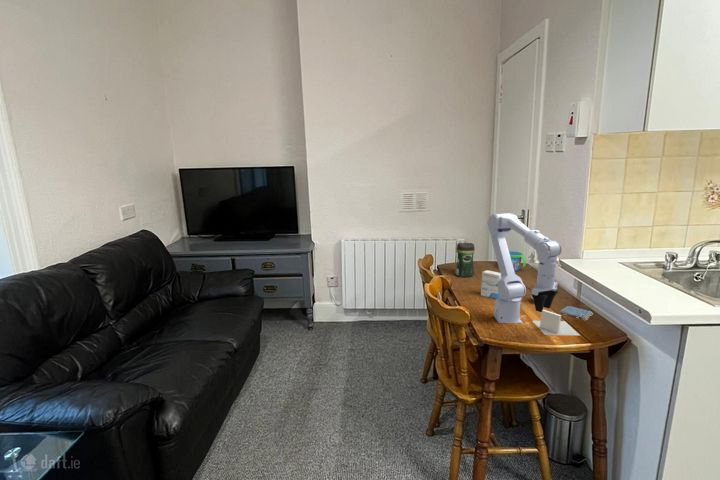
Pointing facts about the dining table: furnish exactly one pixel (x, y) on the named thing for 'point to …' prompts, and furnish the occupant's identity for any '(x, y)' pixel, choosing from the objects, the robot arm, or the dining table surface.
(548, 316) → the tile
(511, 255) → the snack cup
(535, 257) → the flower vase
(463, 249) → the coffee jar
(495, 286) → the ink box
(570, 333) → the felt pad
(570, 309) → the woven mat
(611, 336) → the dining table surface
